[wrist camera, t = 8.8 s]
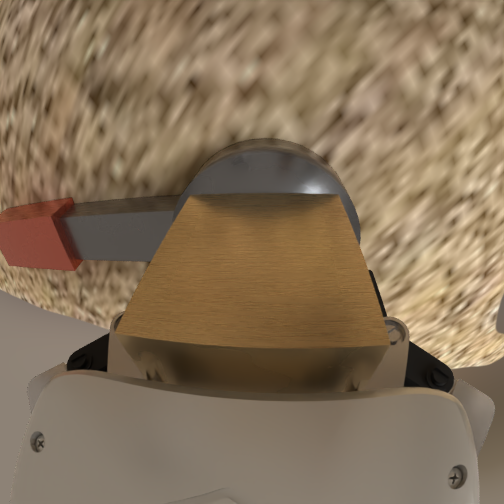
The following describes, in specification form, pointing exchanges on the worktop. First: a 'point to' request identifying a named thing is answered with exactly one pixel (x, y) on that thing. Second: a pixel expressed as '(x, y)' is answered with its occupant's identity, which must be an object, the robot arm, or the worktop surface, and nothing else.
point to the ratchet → (159, 208)
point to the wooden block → (257, 298)
